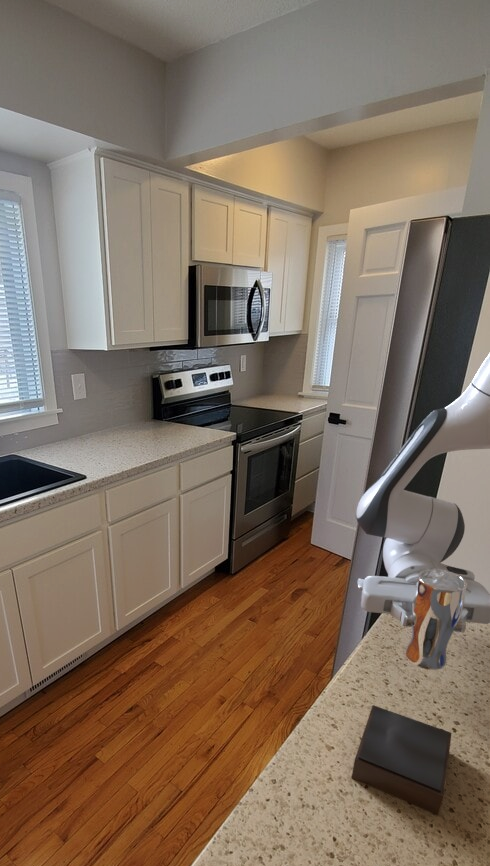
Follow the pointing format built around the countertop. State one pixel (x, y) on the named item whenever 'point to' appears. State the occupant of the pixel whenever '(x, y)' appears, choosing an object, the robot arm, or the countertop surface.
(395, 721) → the riser
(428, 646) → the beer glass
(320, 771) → the countertop surface
